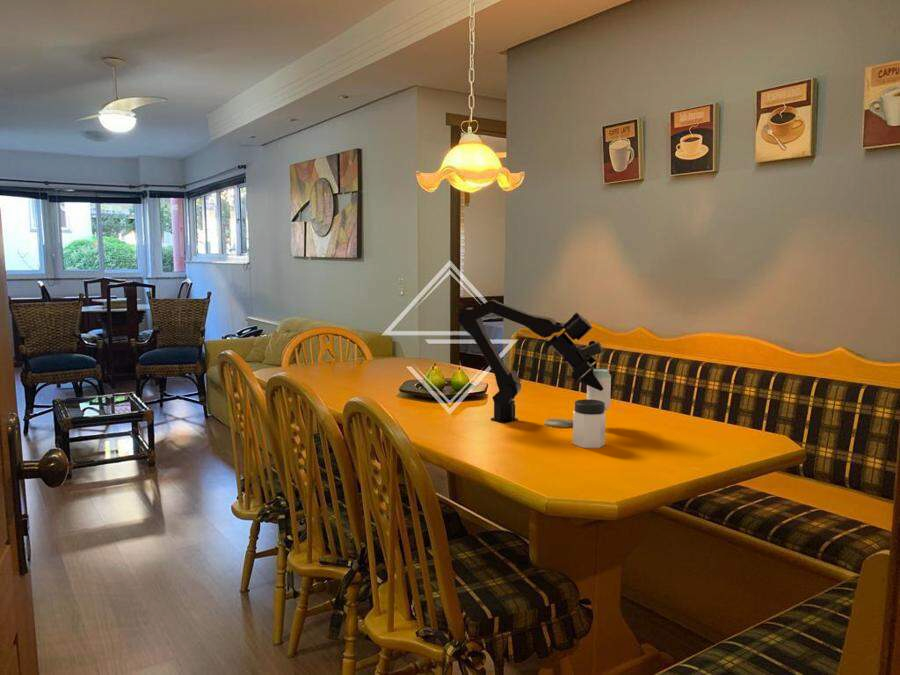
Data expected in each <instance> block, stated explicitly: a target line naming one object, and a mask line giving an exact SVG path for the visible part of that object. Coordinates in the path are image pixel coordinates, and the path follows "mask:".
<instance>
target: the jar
mask: <svg viewBox="0 0 900 675" xmlns="http://www.w3.org/2000/svg"><path fill="white" fill-rule="evenodd" d="M572 412H573V414H572V416H573V417H572V420H573V427H572V445H573V444H574V446H577V447H579V448H582V449H601V448H602V447H604V446H605V445H606V419H607V417H606V414H607V413H606V410H605V403H604V402H602V401H599V400H590V399H587V398H586V399H579V400H578V399H577V400H575V401H574V411H572Z"/></svg>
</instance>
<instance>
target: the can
mask: <svg viewBox="0 0 900 675" xmlns="http://www.w3.org/2000/svg"><path fill="white" fill-rule="evenodd" d="M594 375H595V376H596V378H597V379H598V381H599V382H600V384H601V385H602V387H603V390H602V391H600V390H597V389H595V388H593V387H591V386H589V385H586V399H590V400H599V401H602V402H604V403H605V411H607V410H608V409H610V408H611V391H612V390H611V388H612V387H611V386H612V375H611V374H610V370H609V369H606V368H597V369H594Z"/></svg>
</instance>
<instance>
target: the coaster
mask: <svg viewBox="0 0 900 675" xmlns="http://www.w3.org/2000/svg"><path fill="white" fill-rule="evenodd" d="M544 423H545V424H544V425H545V426H547V425H548V426H547V427H550V426H552V427H551V428H555V427H560V428H559V429H566V428H565V427H570V428H573V419H569V418H558V417H557V418H556V417H555V418H550V419H545V421H544Z"/></svg>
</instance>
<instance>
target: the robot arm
mask: <svg viewBox="0 0 900 675" xmlns="http://www.w3.org/2000/svg"><path fill="white" fill-rule="evenodd" d="M490 314H494V315H496V316H499V317H501V318H504V319H507V320H509V321H512V322H515V323H516V324H519V325H521V326H524V327H526V328H528V329H529V330H530V331H532V332H533V333H534V334H536V335H538V336H539V337H542V338H545V339H546V338H549V337H551V336H552V337H551V338H550V339H546V340H544V344H545V346H544V349H545V350H548V349H549V348H550V347H551V348H553V350H555V351H556V353H557V354H558V355H560V357H561V358H562V361H563V362H564V363H567V364H568V366H570V368H571V378H572V379H573V380H574V381H575V382H577V381H578V382H579V383H581V384H584V385H586V386H587V385H589V386H591V387H593V388H595V389H597V390H600V391H602V390H603V387H602V385H601V384H600V382H599V381H598V379H597V378H596V376H595V375H594V369H598V361H597V357H595V355H600V354H602V353H603V352H604V350H603V347H602V344H601V343H600V341H595V340H594V339H593V340H590V341H589V342H588V345H587V346H585V347H581V346H580V345H577V344H576V343H574V341H575V340H577V341H580V340H581V339H583V337H584V336H585V335H587V334H588V332H590V331H591V329H593V326H592V324H591V323H590V322H589V321H588V320H587V319H586V318H584V317H583V316H582V315H581V314H579V312H575V313H574V314H573V315H572V316H571V317H570V319H568V321H566V322H565V323H563V322H557V321H556V320H555V319H554V318H552V317H547V316H542V315H536V314H535V315H534V314H531V313H528V312H525V311H523V310H520V309H518V308H515V307H512V306H510V305H507V304H504V303H503V302H499V301H498V300H496V299H490V300H487V301H485V302H484V303H483V304H480V305H477V306H475V307H467V308H464V309H461V310H460V311H459V312H458V315H457V322H458V323H459V325H460V326H461V327H462V328H463V329H464V331H466V333H468V334H469V335H470V336H471V338H473V341H474V342H475V343H476V345H477V347H478V348H479V350H480V352H481V353H482V355H483V357H484V359H485V361H486V363H487V364H488V365H489V367H490V369H491V371H492V372H493V374H494V376H495V382H496V386H497V388H498V391H497V392H496V393H495V394H494V395H493V396H492V400H493V417H490V420H491V421H495V422H498V423H501V424H506V423H511V422H516V421H519V418H517V417H516V404H515V402H516V401H515V400H514V399H515V398H516V396H517V395H519V393H520V392H521V391H522V383H521V382H522V380H521V378H519V376H518V374H517V371H516V370H512V371H511V370H509V369H508V368H507V367H506V365H505V363H504V361H503V360H502V357H501V356H500V355H499V353H498V350H496V348H495V346H494V344H493V343H492V341H491V340H490V337H489V336H488V334H487V332H486V330H485V327H484V323H483V319H482V318H484V317H486V316H488V315H490ZM563 330H564V331H563ZM561 331H562V332H561ZM560 332H561V333H560ZM556 333H560V335H558V334H556Z"/></svg>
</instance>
